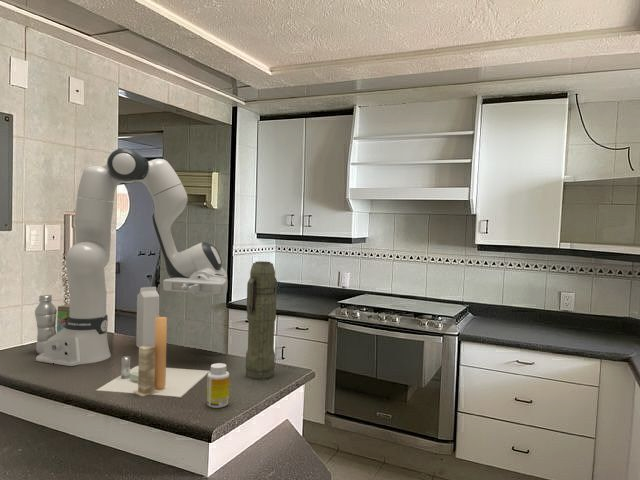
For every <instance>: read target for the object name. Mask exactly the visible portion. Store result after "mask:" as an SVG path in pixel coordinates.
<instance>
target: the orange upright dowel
mask: <svg viewBox="0 0 640 480" xmlns="http://www.w3.org/2000/svg"><path fill="white" fill-rule="evenodd" d="M167 326H168V318H167V316H159V317H156V318H155V378H154V387H156V388H162V387H165V385H166V368H167V337H168V335H167V330H168V329H167ZM129 379H131V380H134V381H137V382H138V372H132V373H129Z"/></svg>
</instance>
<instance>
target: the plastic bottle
mask: <svg viewBox="0 0 640 480" xmlns="http://www.w3.org/2000/svg"><path fill="white" fill-rule="evenodd" d="M52 297H53V295H52V294H45V295H44V294H43V295H39V299H38V302H39V304H38V305H37V307H36V308H35V310H34V316H35V321H36V329H37V336H36V337H37V339H36V344H35V350H36V353H37V355H40V354H42V353H44V349H45V344H46V342H47V340H48V339H49V338H51V337H52V336H53V335H55V334H56V333H57V314H58V309H57V307H56V306H55V305H54V304H53V302H52V301H53V298H52Z"/></svg>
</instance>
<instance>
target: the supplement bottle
mask: <svg viewBox="0 0 640 480" xmlns="http://www.w3.org/2000/svg"><path fill="white" fill-rule="evenodd" d="M206 379H207V380H206V383H207V384H206V404H207V406H208V407H210V408H214V409H220V408H225V407H226V406H228V404H229V400H230V373H229V371H227V363H222V362H217V363H212V364H211V365H210V372H209V373H208V374H207V375H206Z"/></svg>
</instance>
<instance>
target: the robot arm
mask: <svg viewBox="0 0 640 480" xmlns="http://www.w3.org/2000/svg"><path fill="white" fill-rule="evenodd" d="M136 182H140V183H142V184H143V185H145V187H146V188H147V191H148V192H149V194H150V196H151V198H152V200H153V202H154V203H153V204H154V213H153V214H152V223H153V226H154V232H155V233H156V237H157V240H158V243H159V247H160V250H161V253H162V255H163V260H164V264H165V268H166V272H167V274H168V276H169V277H170V278H165V279H163V281H162V290H163V291H165V292H174V293H177V292H178V293H191V294H193V296H195V297H198V298H205V297H211V296H225V295H227V293H228V283H229V282H228V281H229V280H228V274H227V272H226V270H225V268H224V267H222V265H223V264H222V263H223V261H222V257H221V255H220V252H219V251H218V249H217V248H216V246H214V245H212V244H211V243H210V242H206V241H202V242H200V243H197V244H195V245H193V246H191V247H189V248H187V249H184V250H181V251H178V250H177V247H176V244H175V240H174V238H173V234H172V231H171V229H172V225H173V223H174V222H175V220H176V219H177V218H178V217H179V216H180V215H181V214H182V212H183V211H184V210H185V208H186V207H187V204H188V200H189V199H188V194H187V191H186V189H185V187H184V185H183V183H182V181H181V179H180V177H179V176H178V174H177V173H176V171H175V169H174V168H173V167H172V165H171V164H170V163H169V162H168V161H167V160H166V159H164V158H155V159H151V160H148V159H147V158H145V157H143V155H141V154H139V153H138V152H136V151H135V150H133V149H130V148H127V147H124V148H122V147H121V148H117V149H115V150H114V151H112V152H111V153H110V155H109V156H108V158H107V161H106V164H105V165H92V166H88V167H86V168H85V169H84V170H83V171H82V174H81V177H80V180H79V185H78V189H77V196H76V203H75V209H74V210H75V211H74V235H75V236H74V237H75V238H74V239H75V240H74V244H73V245H72V246H71V247H70V248H69V249H68V251H67V253H66V255H65V265H66V266H65V267H66V275H67V276H66V278H67V284H68V290H69V303H68V304H69V316H68V317H67V318H65V319H62V320H64V321H62V322H61V323H64V322H65V325H64V328H63V329H61V330H60V331H59V332H57V331H56V334H55V335H53V336H52V337H51V338H49V339H48V340H47V342H46V344H45V349H44V353H42V354H37V356H36V358H35V361H36V362H41V363H46V364H47V363H48V364H53V363H54V365H60V366H68V367H73V366H79V365H85V364H93V363H98V362H102V361H106V360H108V359H110V358H111V356H112V354H111V352H110V349H109V342H108V325H109V324H108V323H109V322H108V321H109V319H108V318H109V317H108V314H107V294H108V293H107V288H106V277H105V274H106V273H105V267H107V265H108V263H109V261H110V256H111V255H110V254H111V241H112V239H111V237H112V221H113V220H112V219H113V211H114V201H115V194H116V189H117V187H118V186H122V185H130V184H134V183H136Z"/></svg>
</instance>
